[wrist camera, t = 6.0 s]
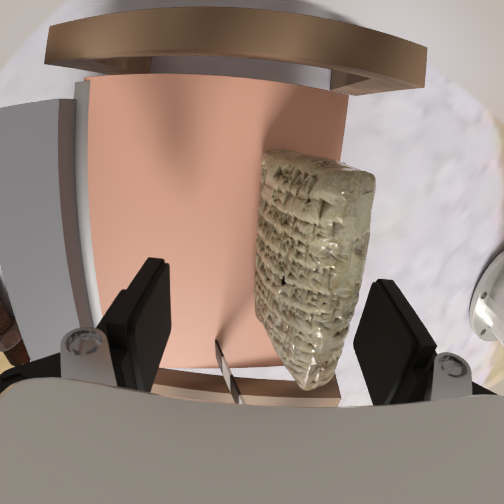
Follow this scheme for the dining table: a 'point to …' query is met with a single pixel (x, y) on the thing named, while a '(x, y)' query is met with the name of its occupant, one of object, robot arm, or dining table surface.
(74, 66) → the frame
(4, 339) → the bolt
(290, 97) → the trapdoor
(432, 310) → the dining table surface
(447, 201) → the dining table surface
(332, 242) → the cuneiform tablet
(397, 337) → the robot arm
